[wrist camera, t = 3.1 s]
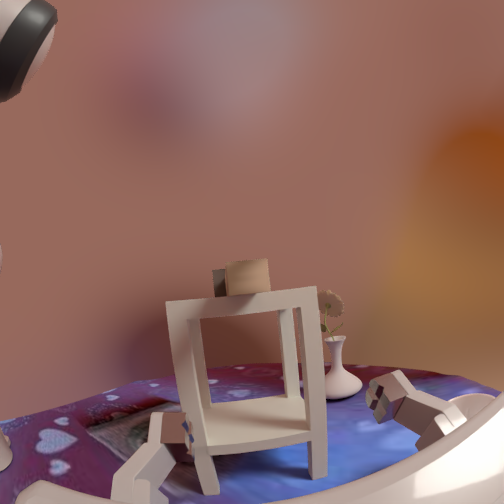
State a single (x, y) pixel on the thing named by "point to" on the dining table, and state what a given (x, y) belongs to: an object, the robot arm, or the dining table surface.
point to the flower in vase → (336, 351)
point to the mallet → (242, 278)
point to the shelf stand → (262, 409)
